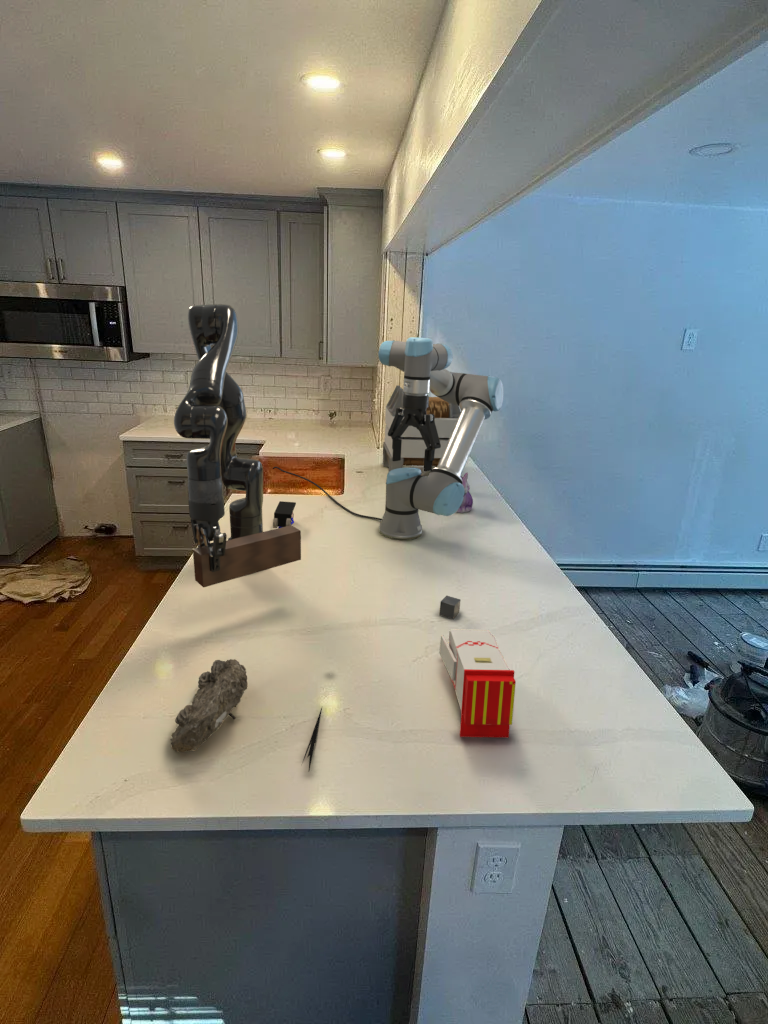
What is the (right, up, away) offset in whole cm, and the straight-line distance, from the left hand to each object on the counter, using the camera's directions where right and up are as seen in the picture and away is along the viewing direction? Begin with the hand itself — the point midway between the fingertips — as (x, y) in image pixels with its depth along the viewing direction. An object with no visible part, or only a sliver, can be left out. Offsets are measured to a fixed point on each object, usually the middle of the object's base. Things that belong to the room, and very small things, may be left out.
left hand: (210, 566), depth 130 cm
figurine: (+71, +13, +97) cm, 121 cm away
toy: (+58, -25, -12) cm, 64 cm away
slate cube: (+57, -14, +18) cm, 62 cm away
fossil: (+8, -27, -22) cm, 35 cm away
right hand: (+48, +26, +39) cm, 68 cm away
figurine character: (+5, +7, +71) cm, 71 cm away
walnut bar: (+7, -1, +7) cm, 11 cm away
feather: (+28, -27, -22) cm, 44 cm away
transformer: (+57, +31, +145) cm, 158 cm away
